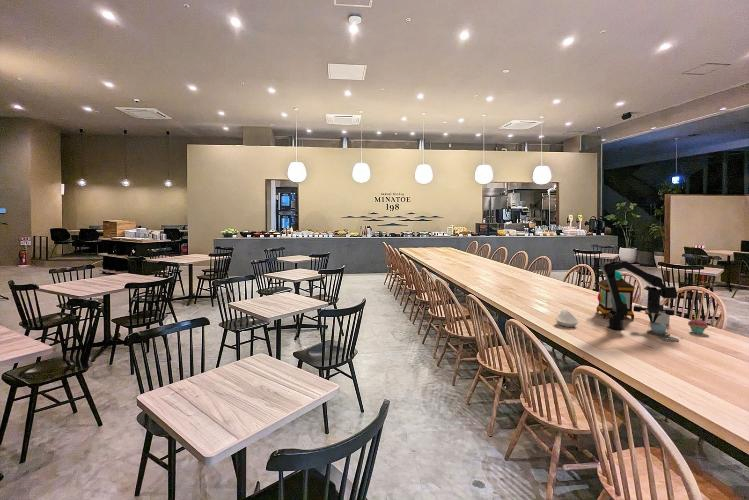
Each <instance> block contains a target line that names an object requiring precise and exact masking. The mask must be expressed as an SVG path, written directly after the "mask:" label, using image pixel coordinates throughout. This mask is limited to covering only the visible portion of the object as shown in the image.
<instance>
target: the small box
mask: <svg viewBox="0 0 749 500" xmlns="http://www.w3.org/2000/svg"><path fill="white" fill-rule="evenodd" d="M662 305H663V306H664V307H663V309H664V310H665V308H671V307H669V306H667V305H664V304H662ZM670 317H671V315H667V314H666V313H661V316H658V317H657V319H656V321H655V323H662V324H665V325H670V319H671V318H670ZM653 318H654V313H652V321H653ZM649 322H650V323H651V321H650V320H649Z"/></svg>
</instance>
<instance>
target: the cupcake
mask: <svg viewBox="0 0 749 500" xmlns="http://www.w3.org/2000/svg"><path fill="white" fill-rule="evenodd" d="M693 316H694V319H690V320H689V321H688V323H687V325H688V326H689V328H690V330H691V333H694V334H704V331H705V330H706V329H708V328H709V324H708V323H707V322H706V321H704V320H701V319H697V316H696V312H695V311H693Z"/></svg>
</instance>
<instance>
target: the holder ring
mask: <svg viewBox="0 0 749 500" xmlns="http://www.w3.org/2000/svg"><path fill="white" fill-rule="evenodd" d="M646 333H647V334H649V335H650V336H651V335H652V336H655V337H660V336H669V337H671V333H669V332H668V331H666V334H665V335H661V334H654V333H651V329H647V330H646Z"/></svg>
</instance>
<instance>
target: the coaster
mask: <svg viewBox="0 0 749 500" xmlns="http://www.w3.org/2000/svg"><path fill="white" fill-rule="evenodd" d="M658 339H660V340H661V341H666V342H671V343H676V342H677V343H678V342H679V341H680V338H676V337H674V336H658Z"/></svg>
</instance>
